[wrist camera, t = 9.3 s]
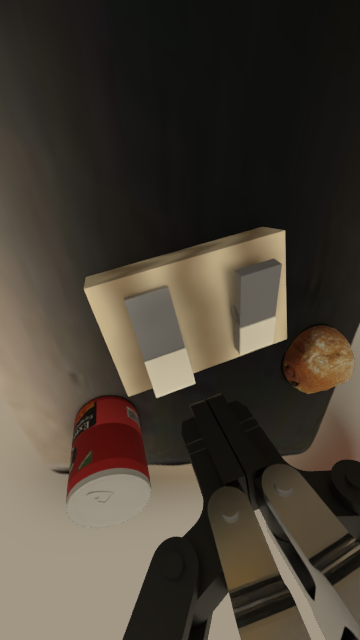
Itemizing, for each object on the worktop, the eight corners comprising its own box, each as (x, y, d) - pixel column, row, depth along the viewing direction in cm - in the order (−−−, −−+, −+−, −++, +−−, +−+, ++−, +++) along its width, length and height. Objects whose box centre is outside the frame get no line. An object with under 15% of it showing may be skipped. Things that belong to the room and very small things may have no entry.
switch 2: (269, 254, 24) (283, 264, 23) (262, 331, 31) (273, 343, 29) (229, 266, 24) (241, 277, 22) (231, 342, 30) (240, 355, 28)
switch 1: (164, 284, 25) (169, 287, 23) (189, 373, 28) (195, 383, 26) (123, 296, 24) (123, 301, 22) (153, 387, 27) (156, 398, 25)
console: (262, 226, 29) (285, 230, 26) (268, 327, 35) (286, 341, 32) (85, 277, 26) (83, 289, 22) (125, 377, 32) (129, 398, 29)
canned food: (82, 390, 31) (75, 475, 22) (145, 397, 34) (163, 473, 25) (68, 438, 34) (57, 533, 24) (128, 440, 37) (139, 525, 27)
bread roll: (320, 344, 45) (373, 352, 38) (298, 398, 42) (351, 416, 36) (293, 312, 40) (349, 314, 34) (266, 370, 38) (321, 385, 31)
